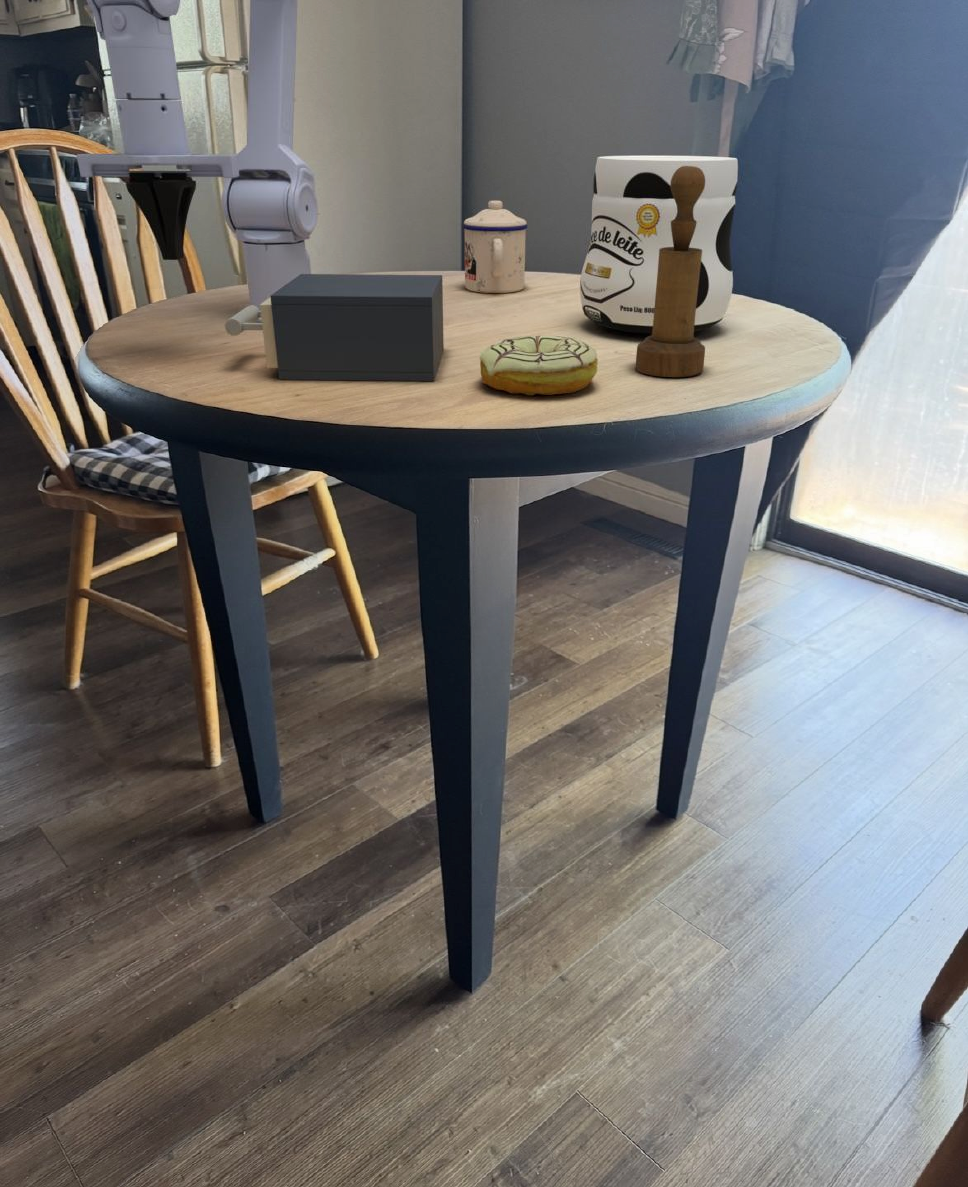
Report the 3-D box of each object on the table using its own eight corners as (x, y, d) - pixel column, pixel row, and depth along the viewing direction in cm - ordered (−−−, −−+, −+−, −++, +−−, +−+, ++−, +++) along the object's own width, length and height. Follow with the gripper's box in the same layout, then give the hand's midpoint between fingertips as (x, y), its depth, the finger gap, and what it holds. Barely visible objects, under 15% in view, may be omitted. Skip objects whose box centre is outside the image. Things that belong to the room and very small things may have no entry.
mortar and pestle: (656, 358, 90) (675, 163, 81) (714, 368, 86) (740, 165, 78) (622, 371, 85) (638, 166, 77) (682, 382, 82) (706, 168, 73)
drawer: (222, 367, 82) (213, 303, 80) (254, 341, 92) (247, 283, 90) (409, 369, 82) (407, 305, 79) (421, 342, 92) (419, 285, 89)
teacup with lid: (462, 283, 131) (461, 198, 125) (522, 283, 131) (524, 198, 126) (465, 298, 120) (464, 205, 115) (530, 297, 121) (533, 205, 115)
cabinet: (279, 379, 82) (269, 295, 78) (307, 348, 93) (300, 273, 90) (434, 381, 82) (431, 296, 78) (443, 350, 93) (442, 275, 89)
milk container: (554, 334, 100) (561, 158, 92) (608, 308, 114) (618, 154, 105) (703, 350, 93) (726, 162, 84) (742, 321, 107) (765, 157, 98)
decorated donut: (482, 369, 86) (482, 330, 84) (592, 371, 85) (594, 331, 83) (476, 398, 77) (476, 355, 75) (599, 400, 76) (602, 357, 74)
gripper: (49, 99, 76) (83, 263, 83) (214, 99, 76) (234, 265, 82) (84, 100, 83) (113, 253, 89) (237, 101, 82) (254, 255, 89)
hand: (173, 258), depth 86 cm, fingers closed
